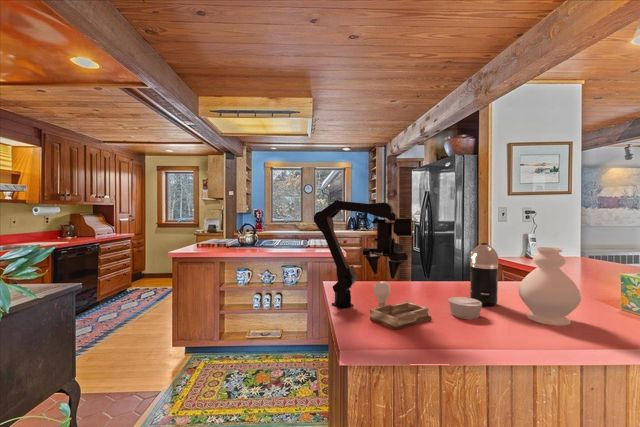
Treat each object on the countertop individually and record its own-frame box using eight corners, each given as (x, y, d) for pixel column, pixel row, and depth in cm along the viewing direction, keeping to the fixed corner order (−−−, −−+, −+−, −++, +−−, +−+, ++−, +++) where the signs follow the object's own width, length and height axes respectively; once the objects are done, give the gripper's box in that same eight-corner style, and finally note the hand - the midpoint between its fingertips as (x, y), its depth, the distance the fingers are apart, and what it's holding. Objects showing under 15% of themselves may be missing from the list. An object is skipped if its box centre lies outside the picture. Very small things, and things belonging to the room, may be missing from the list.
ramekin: (476, 323, 110) (476, 307, 109) (443, 315, 117) (443, 301, 117) (485, 315, 118) (486, 300, 118) (454, 308, 125) (454, 295, 125)
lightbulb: (390, 313, 119) (390, 283, 119) (373, 312, 120) (373, 282, 120) (390, 308, 125) (390, 279, 125) (373, 306, 127) (374, 279, 127)
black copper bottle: (470, 305, 129) (471, 243, 129) (469, 298, 139) (469, 240, 138) (499, 308, 125) (500, 244, 125) (496, 301, 135) (496, 241, 134)
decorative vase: (566, 332, 101) (567, 253, 100) (508, 316, 116) (509, 247, 115) (589, 322, 110) (590, 249, 110) (532, 308, 125) (533, 244, 125)
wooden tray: (369, 319, 113) (369, 309, 113) (404, 310, 123) (404, 301, 123) (395, 329, 103) (395, 319, 103) (431, 319, 113) (431, 309, 113)
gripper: (418, 236, 119) (417, 278, 119) (382, 233, 135) (381, 270, 135) (396, 237, 113) (396, 282, 113) (362, 234, 128) (361, 272, 129)
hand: (383, 276), depth 123 cm, fingers open, 9 cm apart
